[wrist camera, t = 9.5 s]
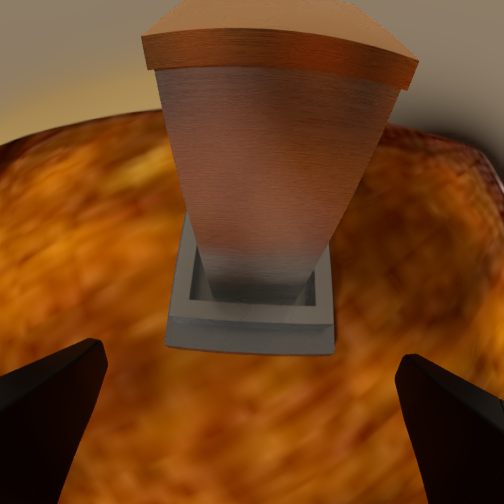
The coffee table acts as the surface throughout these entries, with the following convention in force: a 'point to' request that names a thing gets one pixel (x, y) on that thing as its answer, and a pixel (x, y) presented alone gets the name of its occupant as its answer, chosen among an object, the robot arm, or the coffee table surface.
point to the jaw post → (271, 128)
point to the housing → (247, 313)
